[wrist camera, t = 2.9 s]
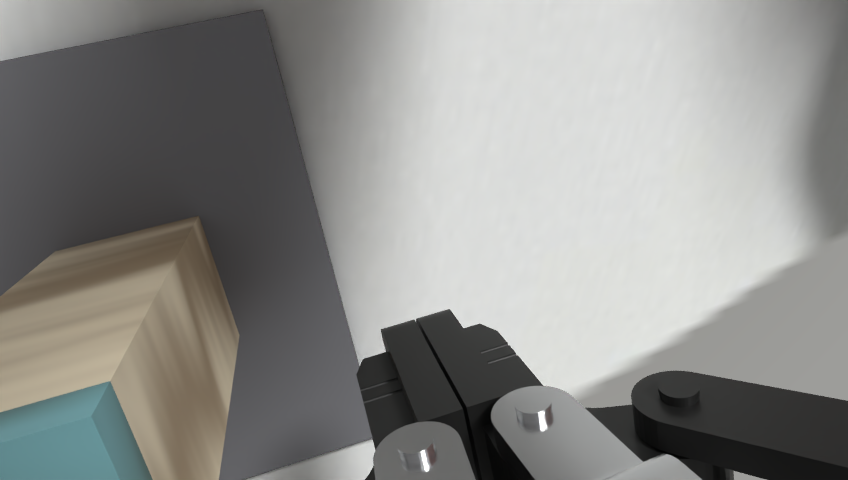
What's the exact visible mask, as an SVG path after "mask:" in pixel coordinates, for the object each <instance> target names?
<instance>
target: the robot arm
mask: <svg viewBox="0 0 848 480" xmlns="http://www.w3.org/2000/svg"><path fill="white" fill-rule="evenodd" d="M381 333H382V338H383V342H384V346H385V349H386V352H385V353H382V354H378V355H375V356H372V357H368V358H365V359H363V360H362V363H361V365H360V367H359V369H358V372H357V374H356V376H357V379H358V383H359V387H360V391H361V395H362V399H363V403H364V407H365V411H366V415H367V419H368V423H369V426H370V430H371V434H372V438H373V442H374V446H375V453H374V457H373V464H374V466H373V468H372V470H371V472H370V474H369V475H368V476H367V478H366V479H365V480H734V474H733V471H737V472H741V473H744V474H748V475H752V476H756V477H759V478H763V479H767V480H848V401H845V400H840V399H835V398H829V397H824V396H818V395H813V394H808V393H802V392H797V391H791V390H786V389H781V388H775V387H770V386H764V385H759V384H753V383H747V382H743V381H737V380H732V379H726V378H721V377H715V376H710V375H705V374H699V373H693V372H686V371H666V372H659V373H656V374H652V375H649V376H647V377H645V378H643V379H642V380H640V381H639V382H638V383H637V384H636V385H635V386H634V388H633V390H632V394H631V398H632V405H625V406H615V407H605V408H584V407H583V406H582V405H581V404H580V403H579V402H578V401H577V400H576V399H575V398H574V397H572V396H571V395H570V394H569V393H567V392H565V391H563V390H561V389H558V388H554V387H549V386H543V385H542V384H541V383H540V381H539V380H538V379H537V378H536V377H535V375H534V374H533V373H532V372H531V371H530V369H529V368H528V367H527V366H526V365H525V363H524V362H523V361H522V360H521V359H520V357H519V356H517V355H516V353H515V352H514V350H513V349H512V348H511V347H510V346H508V343H507V342H506V341H505V340H504V338H503V337H502V336H501V335H500V334H499V332H498V331H496V330H493V329H491V328H489V327H486V326H484V325H482V324H477V325H474V326H470V327H467V328H463V327H462V326H461V324H460V323H459V321H458V320H457V319H456V317H455V316H454V314H453V313H452V312H451V310H450V309H448V310H444V311H441V312H438V313H434V314H431V315H428V316H424V317H421V318H417V319H416V322H415V320H411V321H408V322H404V323H401V324H397V325H394V326H391V327H387V328H384V329H381Z"/></svg>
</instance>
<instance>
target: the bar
mask: <svg viewBox="0 0 848 480" xmlns="http://www.w3.org/2000/svg"><path fill="white" fill-rule="evenodd" d="M239 336H240V335H239V332H238V329H237V326H236V324H235V321H234V318H233V315H232V312H231V309H230V306H229V303H228V300H227V297H226V294H225V291H224V288H223V285H222V282H221V279H220V276H219V273H218V271H217V268H216V265H215V262H214V259H213V256H212V253H211V250H210V247H209V244H208V241H207V238H206V235H205V232H204V229H203V226H202V223H201V220H200V218H199V216H196V217H192V218H188V219H183V220H179V221H175V222H171V223H167V224H163V225H159V226H155V227H151V228H147V229H143V230H139V231H135V232H131V233H127V234H123V235H119V236H115V237H111V238H107V239H103V240H99V241H95V242H91V243H87V244H83V245H79V246H75V247H71V248H67V249H63V250H59V251H55V252H54V253H52V254H51V255H50V256H49V257H48V258H46V259H45V260H44V261H43V262H42V263H40V264H39V265H38V266H37V267H35V268H34V269H33V270H32V271H31V272H29V273H28V274H27V275H26V276H24V277H23V278H22V279H21V280H20V281H18V282H17V283H16V284H15V285H14V286H12V287H11V288H10V289H9V290H7V291H6V292H5V293H4V294H3V295H1V296H0V480H219V475H220V468H221V461H222V454H223V447H224V440H225V433H226V426H227V419H228V412H229V405H230V398H231V391H232V384H233V377H234V370H235V364H236V357H237V350H238V343H239Z"/></svg>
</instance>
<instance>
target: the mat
mask: <svg viewBox="0 0 848 480" xmlns="http://www.w3.org/2000/svg"><path fill="white" fill-rule="evenodd" d="M196 216H199V218H200V220H201V223H202V226H203V229H204V232H205V235H206V238H207V241H208V244H209V247H210V250H211V253H212V256H213V259H214V262H215V265H216V268H217V271H218V273H219V276H220V279H221V282H222V285H223V288H224V291H225V294H226V297H227V300H228V303H229V306H230V309H231V312H232V315H233V318H234V321H235V324H236V326H237V329H238V332H239V335H240V336H239V343H238V350H237V357H236V364H235V370H234V377H233V384H232V391H231V398H230V405H229V412H228V419H227V426H226V433H225V440H224V447H223V454H222V461H221V468H220V475H219V480H244V479H247V478H250V477H253V476H256V475H259V474H262V473H266V472H269V471H272V470H275V469H278V468H281V467H284V466H287V465H290V464H293V463H297V462H300V461H303V460H306V459H309V458H312V457H315V456H318V455H321V454H324V453H328V452H331V451H334V450H337V449H340V448H343V447H346V446H349V445H352V444H355V443H359V442H362V441H365V440H368V439H371V438H372V434H371V430H370V426H369V423H368V419H367V415H366V411H365V407H364V403H363V399H362V395H361V391H360V387H359V383H358V379H357V376H356V374H357V372H358V369H359V363H358V360H357V356H356V352H355V348H354V345H353V341H352V337H351V334H350V330H349V326H348V323H347V319H346V315H345V312H344V308H343V304H342V301H341V297H340V293H339V289H338V286H337V282H336V278H335V275H334V271H333V267H332V264H331V260H330V256H329V253H328V249H327V245H326V242H325V238H324V234H323V230H322V227H321V223H320V219H319V216H318V212H317V208H316V205H315V201H314V197H313V194H312V190H311V186H310V183H309V179H308V175H307V171H306V168H305V164H304V160H303V157H302V153H301V149H300V146H299V142H298V138H297V135H296V131H295V127H294V124H293V120H292V116H291V112H290V109H289V105H288V101H287V98H286V94H285V90H284V87H283V83H282V79H281V76H280V72H279V68H278V64H277V61H276V57H275V53H274V50H273V46H272V42H271V39H270V35H269V31H268V28H267V24H266V20H265V17H264V13H263V10H258V11H253V12H248V13H243V14H238V15H233V16H228V17H223V18H218V19H212V20H207V21H202V22H197V23H192V24H187V25H182V26H177V27H172V28H167V29H162V30H157V31H152V32H146V33H141V34H136V35H131V36H126V37H121V38H116V39H111V40H106V41H101V42H96V43H91V44H86V45H81V46H75V47H70V48H65V49H60V50H55V51H50V52H45V53H40V54H35V55H30V56H25V57H20V58H15V59H9V60H4V61H0V296H1V295H3V294H4V293H5V292H6V291H7V290H9V289H10V288H11V287H12V286H14V285H15V284H16V283H17V282H18V281H20V280H21V279H22V278H23V277H24V276H26V275H27V274H28V273H29V272H31V271H32V270H33V269H34V268H35V267H37V266H38V265H39V264H40V263H42V262H43V261H44V260H45V259H46V258H48V257H49V256H50V255H51V254H52V253H54V252H55V251H59V250H63V249H67V248H71V247H75V246H79V245H83V244H87V243H91V242H95V241H99V240H103V239H107V238H111V237H115V236H119V235H123V234H127V233H131V232H135V231H139V230H143V229H147V228H151V227H155V226H159V225H163V224H167V223H171V222H175V221H179V220H183V219H188V218H192V217H196Z"/></svg>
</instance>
